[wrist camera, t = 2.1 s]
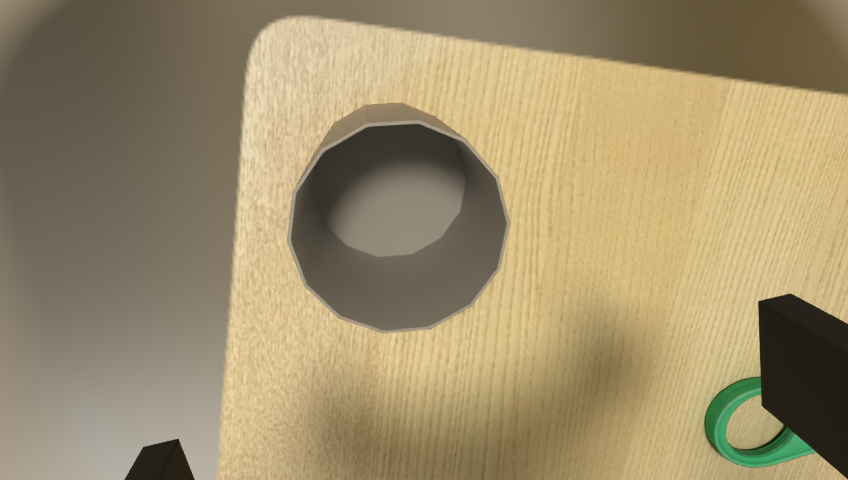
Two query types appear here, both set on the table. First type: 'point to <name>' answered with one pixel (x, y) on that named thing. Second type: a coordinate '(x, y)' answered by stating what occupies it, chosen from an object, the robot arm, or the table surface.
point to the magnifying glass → (769, 455)
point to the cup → (397, 220)
